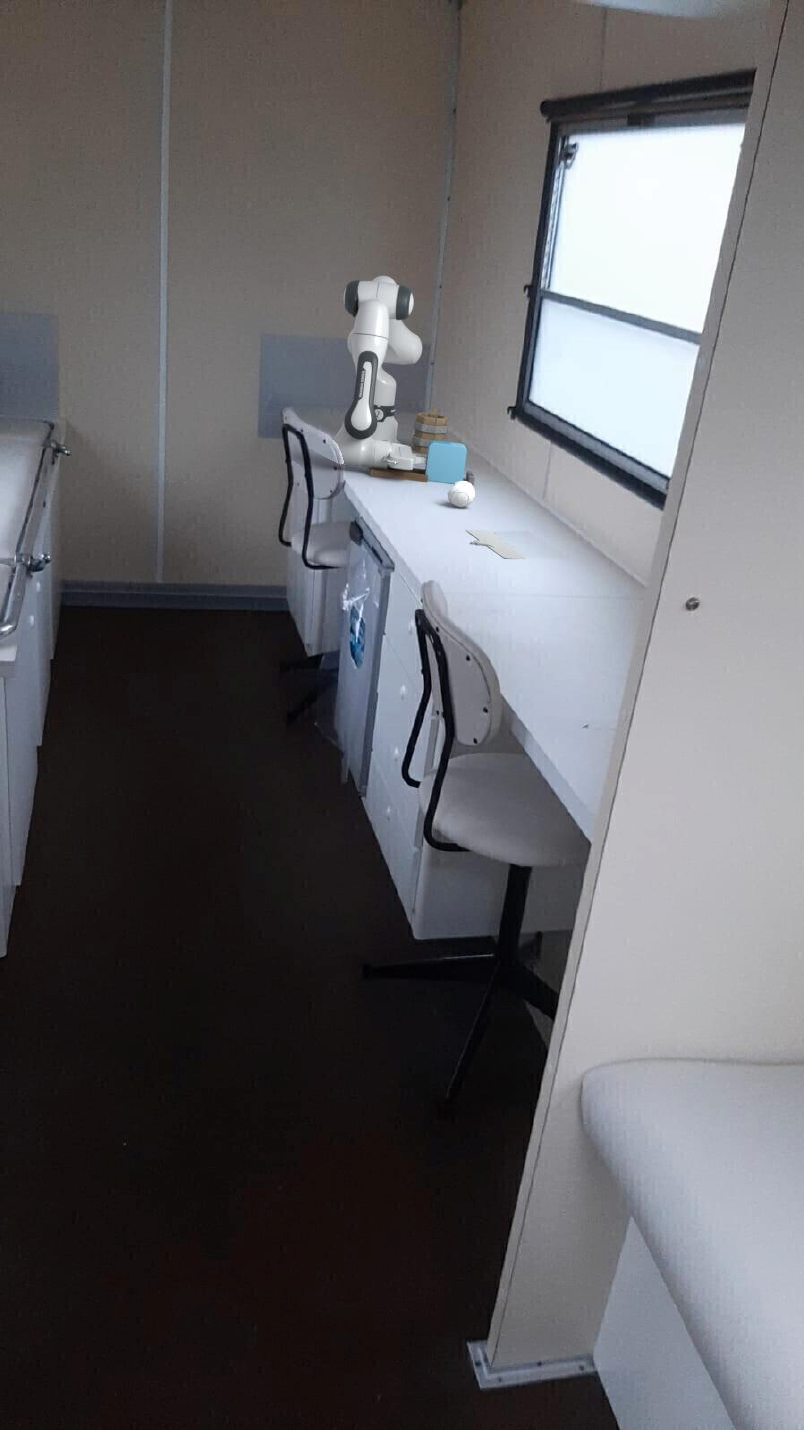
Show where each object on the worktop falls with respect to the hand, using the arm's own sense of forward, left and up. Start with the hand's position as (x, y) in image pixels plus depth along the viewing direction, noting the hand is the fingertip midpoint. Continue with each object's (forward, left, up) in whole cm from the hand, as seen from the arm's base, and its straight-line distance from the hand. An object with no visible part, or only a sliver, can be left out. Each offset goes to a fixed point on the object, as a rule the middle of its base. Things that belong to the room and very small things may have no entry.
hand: (426, 459), depth 357 cm
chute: (0, -1, -6) cm, 6 cm away
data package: (0, +6, -6) cm, 9 cm away
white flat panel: (+67, +20, -7) cm, 70 cm away
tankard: (-39, +4, -6) cm, 40 cm away
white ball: (+32, +9, -6) cm, 34 cm away
